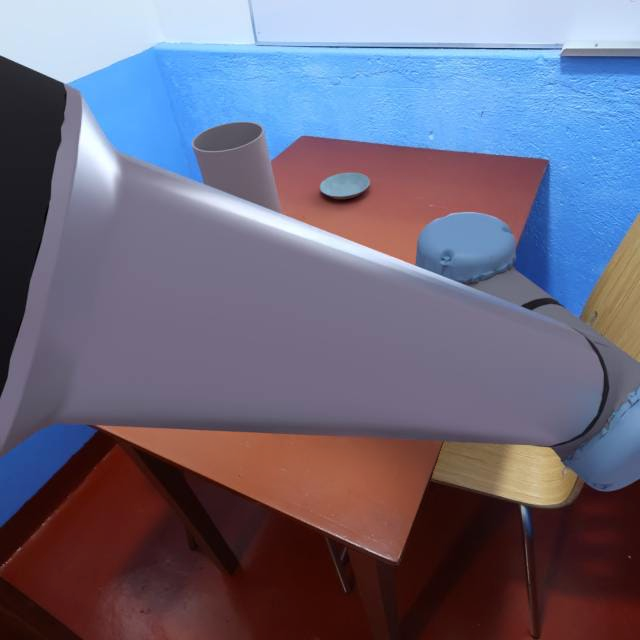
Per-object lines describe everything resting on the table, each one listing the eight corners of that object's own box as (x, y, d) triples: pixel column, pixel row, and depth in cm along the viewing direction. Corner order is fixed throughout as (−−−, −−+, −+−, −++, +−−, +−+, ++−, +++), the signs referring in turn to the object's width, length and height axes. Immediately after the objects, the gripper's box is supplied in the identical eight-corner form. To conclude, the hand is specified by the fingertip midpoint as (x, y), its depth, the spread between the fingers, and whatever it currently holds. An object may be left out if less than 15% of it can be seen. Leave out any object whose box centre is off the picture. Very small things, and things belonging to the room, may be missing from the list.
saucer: (313, 190, 114) (311, 181, 113) (355, 175, 117) (355, 167, 116) (334, 210, 106) (333, 201, 105) (379, 194, 109) (379, 185, 107)
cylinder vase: (301, 249, 97) (278, 127, 80) (259, 282, 90) (225, 157, 73) (259, 233, 103) (230, 117, 86) (217, 262, 97) (176, 144, 80)
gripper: (331, 399, 50) (190, 322, 62) (408, 311, 58) (271, 258, 71) (322, 352, 45) (171, 278, 57) (408, 262, 53) (260, 215, 65)
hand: (226, 267), depth 64 cm, fingers closed on salt shaker, 3 cm apart
